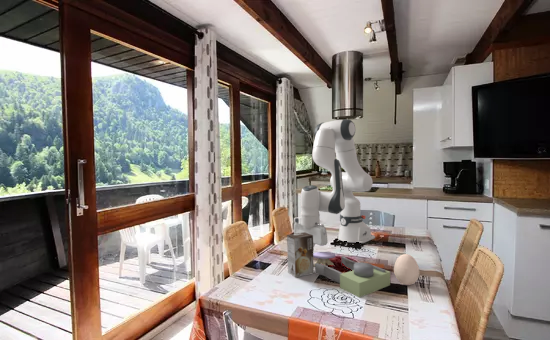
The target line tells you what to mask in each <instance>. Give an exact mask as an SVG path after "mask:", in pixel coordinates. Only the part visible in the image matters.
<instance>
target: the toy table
mask: <svg viewBox="0 0 550 340" xmlns="http://www.w3.org/2000/svg"><path fill="white" fill-rule="evenodd" d="M335 257H336V253H335V252H331V251H317V252H313V259H317V260H316V261H315V262H314V268H315V264H316V263H318V264H323V265H326V266H328V265H334V264H335V263H334V262H332V261H331V259H333V258H335ZM334 266H335V265H334Z"/></svg>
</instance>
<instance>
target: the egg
mask: <svg viewBox="0 0 550 340" xmlns="http://www.w3.org/2000/svg"><path fill="white" fill-rule="evenodd" d="M393 273H394V276H395V278H396V279H397V281H398V282H399V283H400V284H402V285H404V286H411V285H413V284H415V283H417V282H418V279H419V277H420V267H419V264H418V262H417V260H416V259H415V258H414V257H413V256H412V255H410V254H409V253H403V254H401V255H399V256H397V258H396V260H395V263H394V265H393Z"/></svg>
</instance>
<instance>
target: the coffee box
mask: <svg viewBox="0 0 550 340" xmlns="http://www.w3.org/2000/svg"><path fill="white" fill-rule="evenodd" d="M286 240H287V241H286V242H287V244H286V245H287V246H286V247H287V252H286V253H287V273H288V274H289V275H290V276H293V277H294V278H300V277H304V276H307V275H308V276H309V275H312V274H315V267H314V263H315V262H314V257H313V253H314V250H313V235H311V234H308V233H305V232H303V233H297V234H294V233H291V234H287V235H286Z"/></svg>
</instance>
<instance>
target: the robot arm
mask: <svg viewBox="0 0 550 340" xmlns="http://www.w3.org/2000/svg"><path fill="white" fill-rule="evenodd" d="M355 133H356V124H355V122H353V121H352V120H351V119H346V118H343V119H334V120H330V121H326V122H321V123H318V124H317V125H316V127H315V128H314V140H313V146H312V154H311V155H312V161H313V162H314V163H315V164H316V165H317V166H318V167H320V168H323V169H325V170H326V171H328V172H329V173H330V174H331V177H330V179H329V182H330V183H329V184H330V186H331V188H332V191H321V190H319V187H318V186H316V185H314V184H313V185H312V184H311V185H305V186H304V187H302V189H301V192H300V200H299V201H300V209H301V210H300V216H298V217H294V218H293V221H294V222H293V223H294V224H293V234H297V233H303V232H305V233H308V234H311V235H313V251H314V248H315V245H317V246H320V247H323V246H326V245H327V244H328V242H329V241H328V240H329V239H328V232H327V228H326V226H325V225H324V224H323V223H320V222H321V220H320V219H321V217H320V215H321V214H320V212H322V213H330V214H334V215H338V214H340V215H339V221H340V222H339V227H338V228H339V230H338V234H337V239H338V240H339V241H342V242H344V241H347V242H346V243H356V242H359V244H360V243H361V244H365V243H368V242H369V241H371V240H374V239H375V238H376V236H375V235H374V234H373V233H372V232H371V231H372V229H371V228H370V226H369V225H367V224H366V223H365V222H364V221H363V220H365V219H366V215H361V201H360V200H359V199H358V198H356V196H355V195H354V193H363V192H364V193H365V192H369V191H370V190H371V189H372V186H373V183H374V182H373V178H372V176H371V175H369V173H367V172H366V171H365V170H364V169H363V167H362V166H361V164H360V162H359V159H358V154H357V150H356V144H355V140H354V136H355ZM342 169H343V170H344V171H343V170H342Z"/></svg>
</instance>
